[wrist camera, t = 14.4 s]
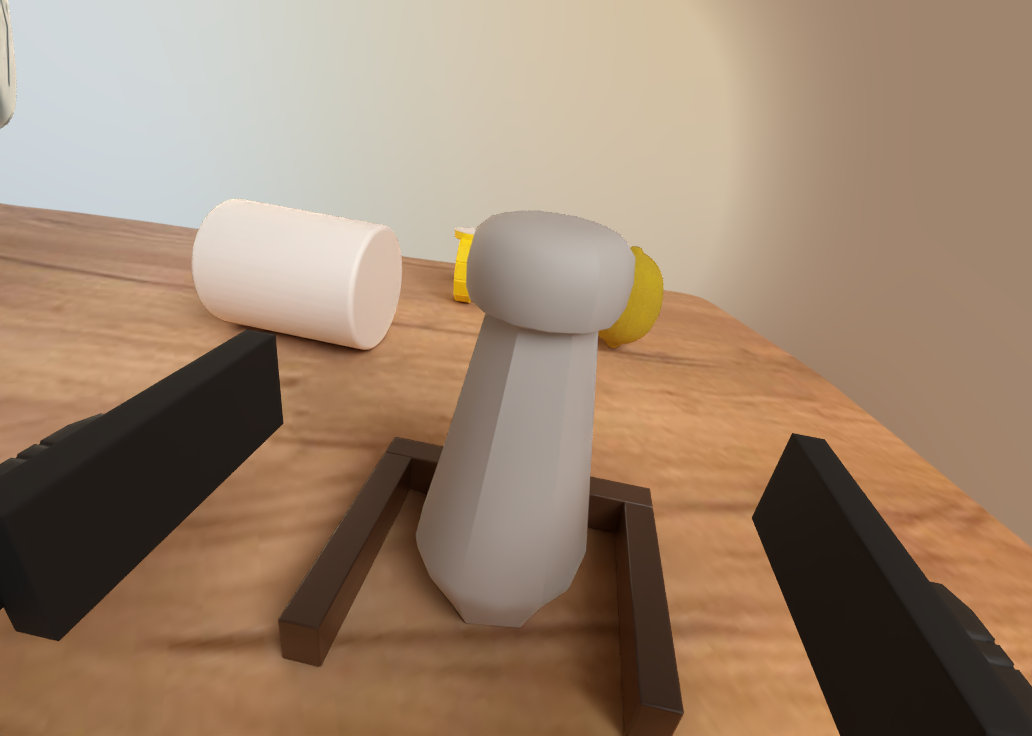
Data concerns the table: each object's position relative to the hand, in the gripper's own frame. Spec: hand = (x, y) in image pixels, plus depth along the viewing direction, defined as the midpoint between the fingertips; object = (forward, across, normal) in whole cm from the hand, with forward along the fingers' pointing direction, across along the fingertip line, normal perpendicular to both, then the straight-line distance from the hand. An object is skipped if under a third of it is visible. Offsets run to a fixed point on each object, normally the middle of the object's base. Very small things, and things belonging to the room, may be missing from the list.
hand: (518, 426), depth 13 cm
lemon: (+26, +5, -8) cm, 27 cm away
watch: (+31, -8, -8) cm, 33 cm away
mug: (+21, -16, -8) cm, 27 cm away
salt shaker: (+2, 0, -8) cm, 9 cm away
